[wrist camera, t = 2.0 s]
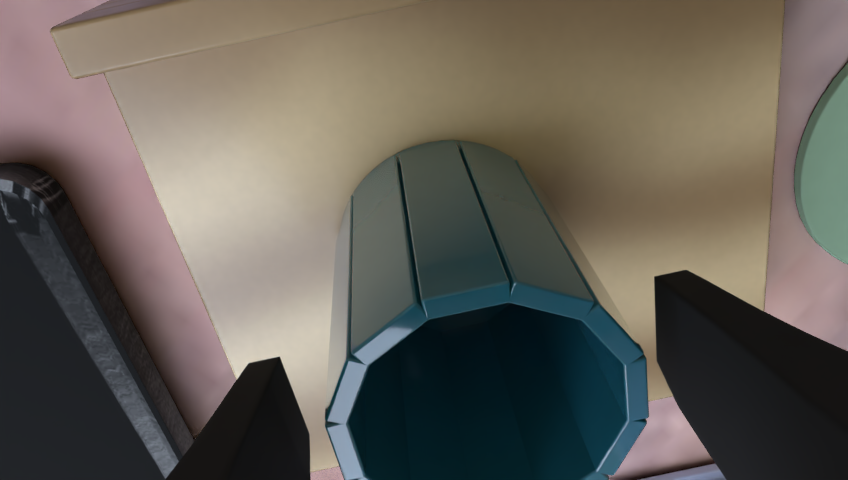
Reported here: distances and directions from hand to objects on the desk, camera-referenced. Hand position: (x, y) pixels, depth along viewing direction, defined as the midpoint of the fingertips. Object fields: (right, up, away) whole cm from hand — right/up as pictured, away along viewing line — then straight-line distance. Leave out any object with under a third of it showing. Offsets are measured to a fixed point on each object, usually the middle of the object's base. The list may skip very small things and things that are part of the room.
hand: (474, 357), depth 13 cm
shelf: (0, +4, +7) cm, 8 cm away
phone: (-14, -3, +9) cm, 17 cm away
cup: (0, +2, +4) cm, 5 cm away
